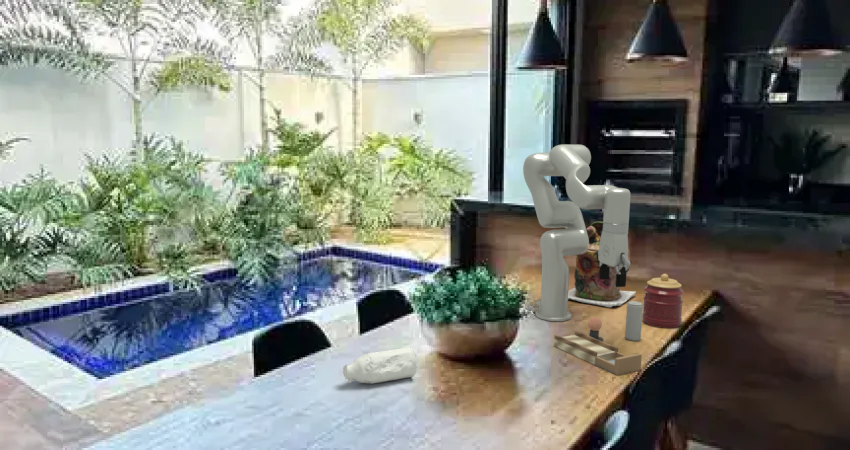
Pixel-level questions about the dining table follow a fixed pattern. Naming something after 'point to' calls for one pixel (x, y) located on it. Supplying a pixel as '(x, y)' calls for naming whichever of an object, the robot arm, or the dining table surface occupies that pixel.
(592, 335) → the tee
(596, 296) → the cookie jar
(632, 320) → the beverage can
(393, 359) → the white bottle
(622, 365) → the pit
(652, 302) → the canister
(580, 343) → the lane
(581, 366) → the dining table surface
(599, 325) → the ball
